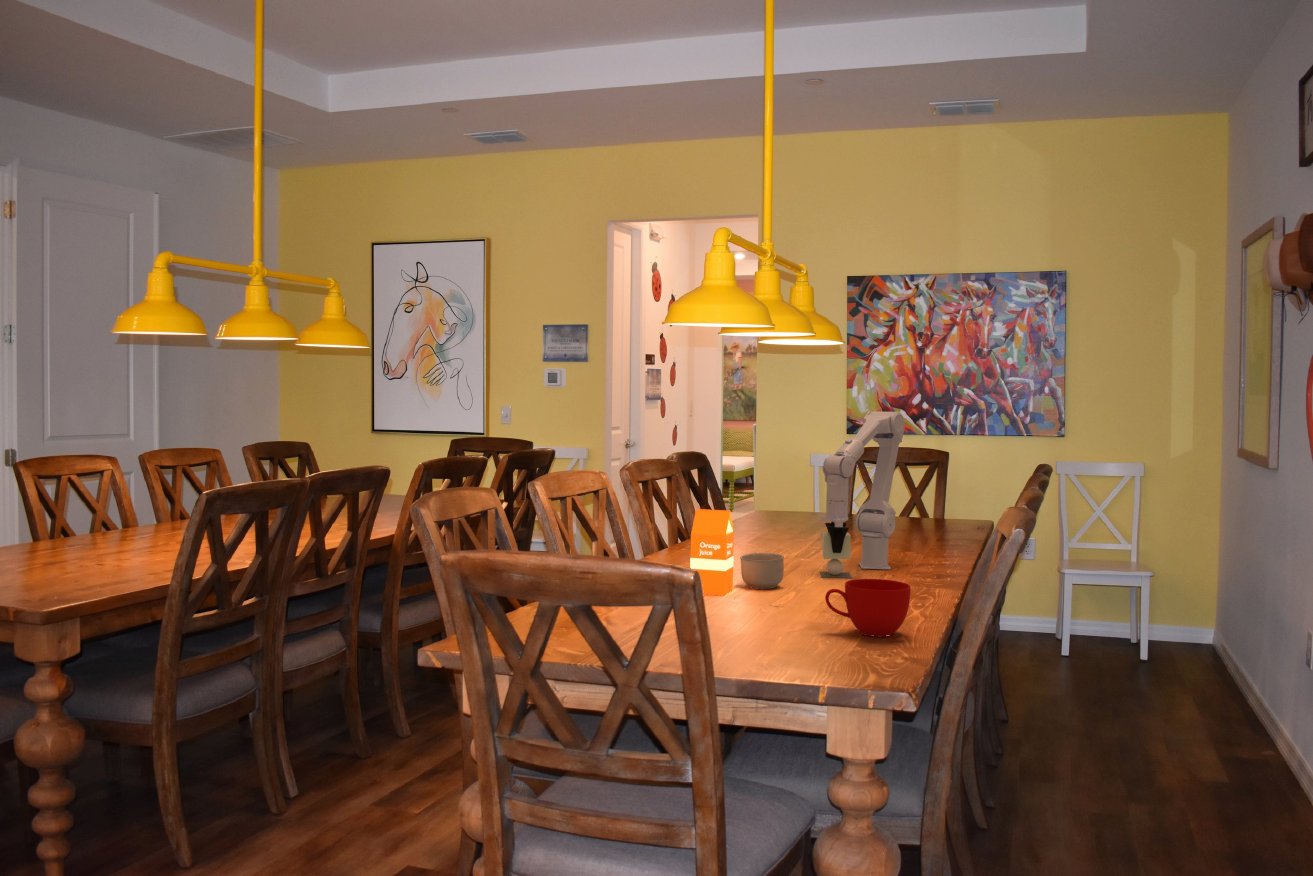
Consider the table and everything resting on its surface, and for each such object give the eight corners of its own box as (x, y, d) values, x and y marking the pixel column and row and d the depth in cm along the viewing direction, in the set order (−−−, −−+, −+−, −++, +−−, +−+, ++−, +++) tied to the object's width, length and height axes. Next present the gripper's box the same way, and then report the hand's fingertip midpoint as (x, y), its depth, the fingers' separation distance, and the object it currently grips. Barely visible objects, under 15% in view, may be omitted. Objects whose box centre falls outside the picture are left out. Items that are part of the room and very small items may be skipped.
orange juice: (724, 596, 245) (726, 512, 244) (689, 593, 248) (690, 510, 247) (733, 590, 252) (734, 509, 252) (698, 587, 255) (699, 507, 254)
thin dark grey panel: (819, 572, 280) (819, 571, 280) (849, 573, 280) (849, 572, 280) (821, 577, 272) (821, 576, 272) (852, 578, 272) (852, 577, 272)
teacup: (785, 591, 252) (786, 559, 252) (741, 590, 252) (741, 558, 252) (779, 581, 266) (780, 550, 265) (737, 580, 266) (738, 549, 266)
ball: (841, 557, 278) (843, 573, 278) (825, 558, 278) (826, 574, 278) (843, 559, 273) (844, 575, 273) (826, 561, 274) (828, 577, 274)
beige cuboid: (848, 555, 278) (848, 532, 278) (850, 558, 272) (850, 535, 272) (822, 555, 279) (822, 533, 279) (824, 559, 273) (823, 535, 273)
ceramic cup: (820, 625, 215) (821, 577, 215) (902, 627, 214) (903, 579, 214) (828, 640, 202) (830, 589, 202) (915, 641, 201) (917, 591, 201)
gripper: (820, 497, 283) (819, 546, 283) (823, 502, 268) (822, 554, 269) (846, 498, 282) (845, 547, 283) (851, 503, 268) (850, 555, 268)
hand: (836, 551), depth 276 cm, fingers closed on beige cuboid, 6 cm apart
